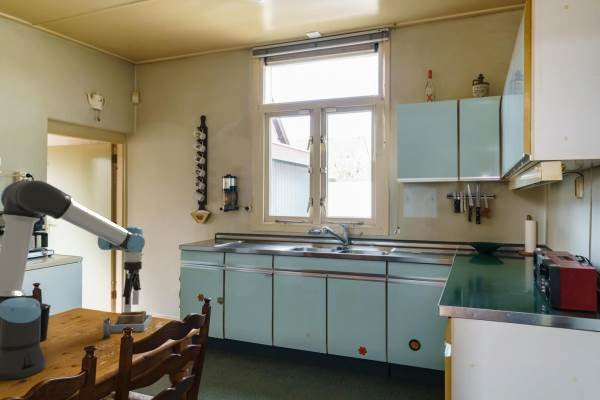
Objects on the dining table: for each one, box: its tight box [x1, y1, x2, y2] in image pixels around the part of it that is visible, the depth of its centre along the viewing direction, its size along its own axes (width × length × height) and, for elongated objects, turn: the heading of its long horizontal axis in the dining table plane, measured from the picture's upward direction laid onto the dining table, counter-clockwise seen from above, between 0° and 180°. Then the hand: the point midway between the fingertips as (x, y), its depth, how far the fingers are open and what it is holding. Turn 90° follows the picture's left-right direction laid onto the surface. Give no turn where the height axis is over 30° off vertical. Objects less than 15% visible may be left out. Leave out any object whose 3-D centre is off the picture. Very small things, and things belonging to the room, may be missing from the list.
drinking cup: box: [38, 290, 52, 343], centre depth 170 cm, size 8×8×20 cm
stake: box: [102, 316, 112, 340], centre depth 174 cm, size 4×3×8 cm
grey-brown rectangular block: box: [117, 310, 147, 325], centre depth 190 cm, size 10×7×6 cm
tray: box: [111, 314, 153, 333], centre depth 190 cm, size 16×14×3 cm
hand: (131, 308), depth 189 cm, fingers open, 13 cm apart
